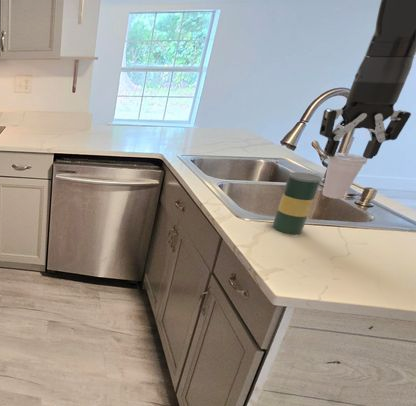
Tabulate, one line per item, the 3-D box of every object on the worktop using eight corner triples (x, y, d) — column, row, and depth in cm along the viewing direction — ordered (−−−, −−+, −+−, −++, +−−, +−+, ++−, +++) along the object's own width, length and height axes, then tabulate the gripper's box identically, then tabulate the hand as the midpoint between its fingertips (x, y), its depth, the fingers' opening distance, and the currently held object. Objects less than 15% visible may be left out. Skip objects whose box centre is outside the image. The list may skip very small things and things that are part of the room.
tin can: (306, 231, 104) (327, 177, 97) (293, 236, 101) (313, 182, 95) (279, 221, 110) (297, 170, 103) (266, 226, 107) (283, 174, 100)
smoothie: (329, 189, 90) (351, 133, 84) (358, 199, 84) (384, 140, 78) (307, 192, 89) (328, 135, 83) (336, 202, 83) (360, 142, 77)
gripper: (346, 81, 75) (317, 159, 81) (439, 81, 70) (400, 163, 77) (327, 77, 81) (302, 150, 88) (411, 77, 77) (377, 154, 84)
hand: (348, 156), depth 82 cm, fingers closed on smoothie, 6 cm apart
